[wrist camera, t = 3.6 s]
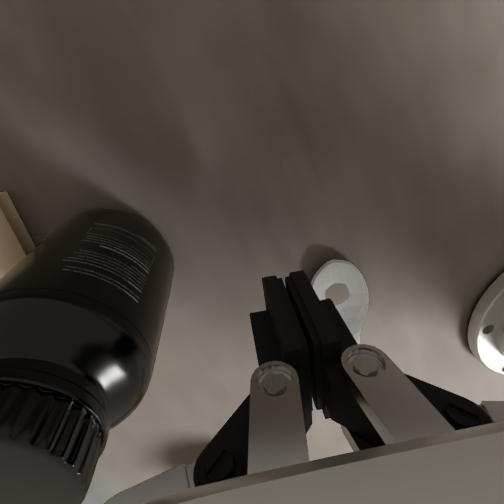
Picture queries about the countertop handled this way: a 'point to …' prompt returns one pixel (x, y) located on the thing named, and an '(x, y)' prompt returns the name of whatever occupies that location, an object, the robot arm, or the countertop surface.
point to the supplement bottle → (76, 350)
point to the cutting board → (12, 236)
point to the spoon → (356, 285)
